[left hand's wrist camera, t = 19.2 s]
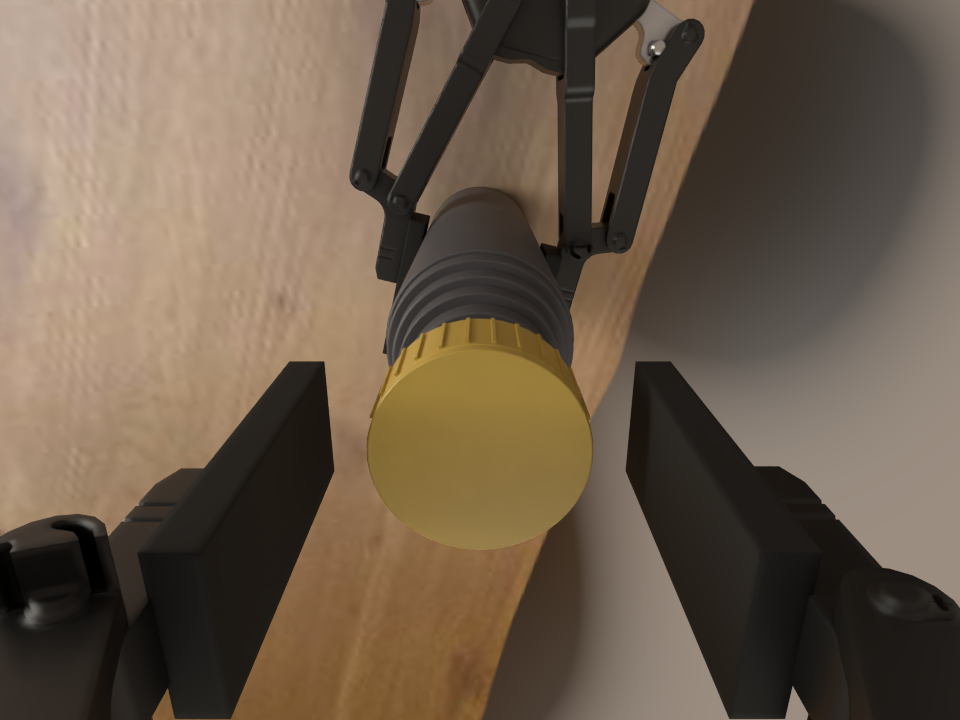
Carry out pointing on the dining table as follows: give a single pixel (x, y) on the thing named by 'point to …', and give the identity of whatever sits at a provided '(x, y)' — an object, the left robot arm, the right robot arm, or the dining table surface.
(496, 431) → the cap
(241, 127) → the dining table surface
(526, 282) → the bottle
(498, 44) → the right robot arm
